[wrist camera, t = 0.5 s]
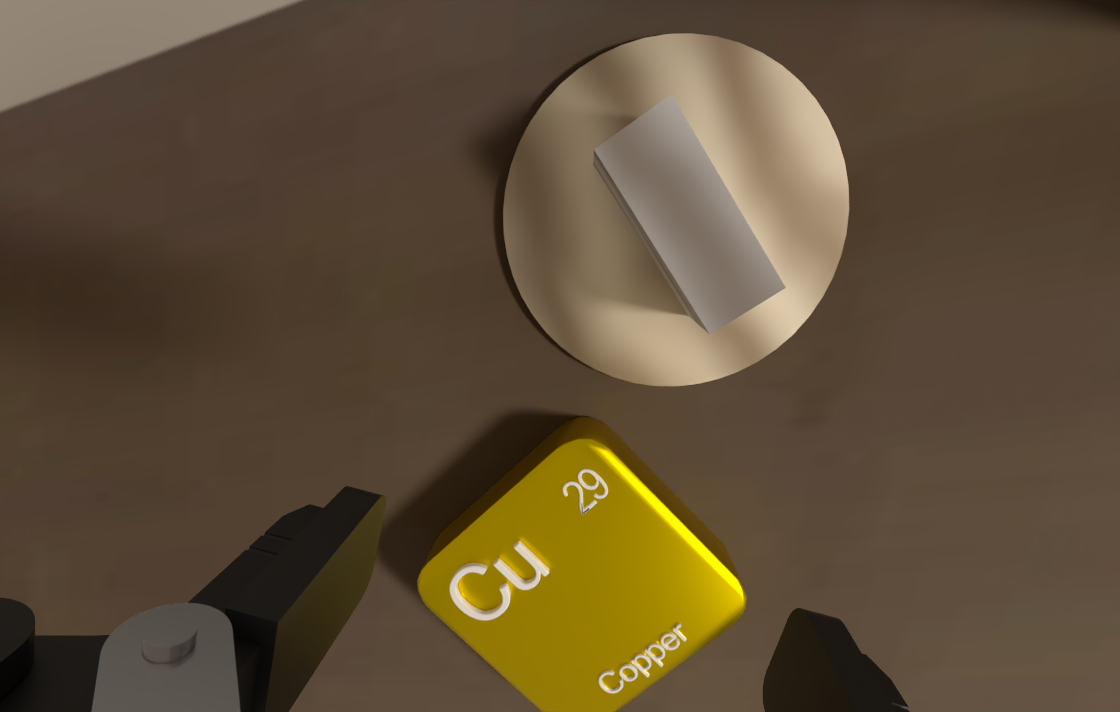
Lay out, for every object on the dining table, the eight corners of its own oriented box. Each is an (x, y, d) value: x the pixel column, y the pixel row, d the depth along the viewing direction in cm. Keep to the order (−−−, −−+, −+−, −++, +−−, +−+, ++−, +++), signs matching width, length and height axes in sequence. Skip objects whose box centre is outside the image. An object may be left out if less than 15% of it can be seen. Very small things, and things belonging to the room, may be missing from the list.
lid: (731, -40, 29) (774, -122, 22) (901, 268, 32) (985, 279, 25) (441, 175, 32) (400, 161, 25) (619, 437, 35) (626, 488, 28)
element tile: (576, 691, 39) (574, 753, 35) (422, 547, 38) (398, 592, 33) (743, 563, 36) (766, 611, 32) (585, 400, 35) (584, 427, 30)
